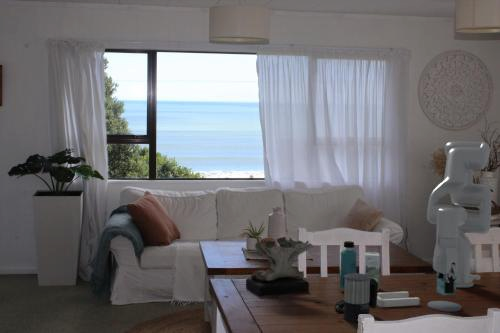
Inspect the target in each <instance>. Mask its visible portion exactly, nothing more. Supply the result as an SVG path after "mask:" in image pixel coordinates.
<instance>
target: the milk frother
mask: <svg viewBox="0 0 500 333" xmlns="http://www.w3.org/2000/svg"><path fill="white" fill-rule="evenodd" d="M344 277H345V289H344V292H343V293H344V298H343V299H342V300H339V301H337V302H336V303H335V304H334V307H333V308H334V309H335V310H336V311H337V312H340V313H343V316H342V318H343V319H344V320H346V321H347V322H354V323H357V322H356V321H357V319H358V315H359V314H369V315H370V308H372V309H376V308H377V306H378V305H377V293H379V292H378V291H379V290H378V283H377V281H376V280H375V279H373V278H371V277H370V276H369V275H366V274H364V273H357V272H356V273H351V274H346V275H344Z"/></svg>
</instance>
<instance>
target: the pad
mask: <svg viewBox="0 0 500 333" xmlns="http://www.w3.org/2000/svg"><path fill="white" fill-rule="evenodd" d="M427 307H428V308H430V309H432V310H434V311H439V312H445V313H446V312H447V313H451V312H452V313H453V312H454V313H455V312H459V311H462V305H461V304H459V303H456V302H454V301H447V300H431V301H429V302H428V303H427Z"/></svg>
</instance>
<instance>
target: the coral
mask: <svg viewBox="0 0 500 333" xmlns="http://www.w3.org/2000/svg"><path fill="white" fill-rule="evenodd" d="M276 241H277V243H278V244H279V245H276ZM276 241H275V240H268V241H267V240H266V241H265V242H264V244H263V243H262V242H260V241H257V242H256V243H255V244H254V246H255V249H256V250H257V251H258V252H259V253H260V254H261V255H262V257H263V258H265V259H267V261H268V262H269V269H267V270H262V269H261V270H255V271H254V272H253V273H252V274H251V275H250V277H249V278H246V279H245V288H246V289H247V290H248V291H250V292H252V293H254V294H255V295H257V296H258V297H264V296H265V297H266V295H267V296H274V295H275V296H276V295H283V294H284V295H285V294H294V292H296V293H304V292H305V293H306V292H309V291H310V290H309V289H310V287H309V286H310V282H308V281H307V280H305V279H304V278H305V274H304V273H305V271H304V270H301V271H300V270H299V269H297V268H296V266H293V263H294V261H295V259H296V258H298V256H299V255H301V254H303V253H304V252H306V251H308V250H310V249H312V248H313V247H314V245H313V244H312V243H310V241H309V240H307V241H305V242H304V241H302V240H300V239H299V240H298V241H297V240H293V239H292V238H291V237H289V239H288V240H287V238H286V237H285V236H283V237H279V238H276Z"/></svg>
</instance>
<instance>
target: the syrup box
mask: <svg viewBox="0 0 500 333" xmlns="http://www.w3.org/2000/svg"><path fill="white" fill-rule="evenodd" d="M363 257H364V259H363V260H364V262H363V264H364V265H363V266H364V267H363V274H366V275H369V276H370V277H371V278H373V279H375V280H376V281H377V283H378V291H379V288H380V270H381V269H380V265H381V256H380V253H379V252H369V251H368V252H366V251H365V252H364V256H363Z"/></svg>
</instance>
